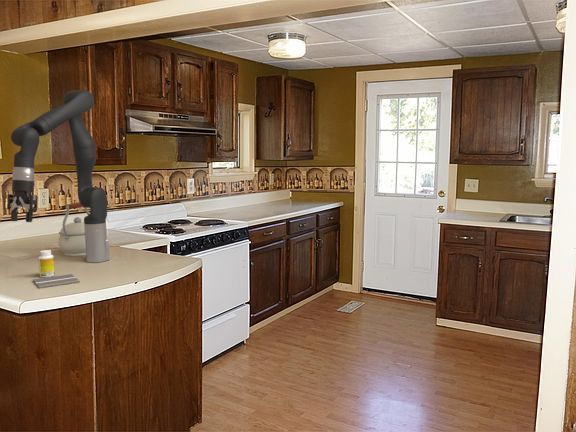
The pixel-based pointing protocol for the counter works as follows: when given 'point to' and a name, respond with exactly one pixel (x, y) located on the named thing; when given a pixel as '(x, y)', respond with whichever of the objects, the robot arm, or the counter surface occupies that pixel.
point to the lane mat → (55, 281)
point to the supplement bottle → (46, 264)
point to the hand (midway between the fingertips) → (21, 221)
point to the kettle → (73, 234)
